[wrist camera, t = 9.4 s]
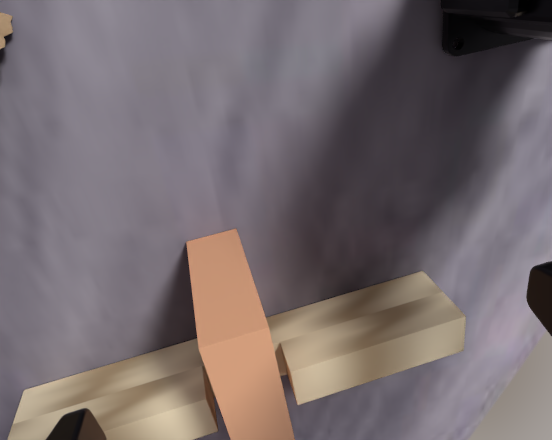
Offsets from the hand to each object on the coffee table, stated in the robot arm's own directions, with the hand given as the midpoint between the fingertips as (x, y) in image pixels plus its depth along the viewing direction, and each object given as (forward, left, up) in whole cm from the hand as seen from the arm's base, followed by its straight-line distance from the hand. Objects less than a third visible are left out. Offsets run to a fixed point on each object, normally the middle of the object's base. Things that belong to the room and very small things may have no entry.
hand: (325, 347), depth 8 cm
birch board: (+2, +11, -12) cm, 16 cm away
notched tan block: (+2, +11, -12) cm, 16 cm away
